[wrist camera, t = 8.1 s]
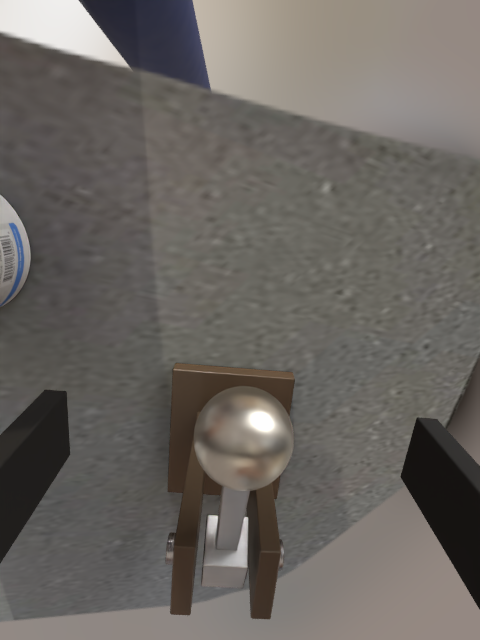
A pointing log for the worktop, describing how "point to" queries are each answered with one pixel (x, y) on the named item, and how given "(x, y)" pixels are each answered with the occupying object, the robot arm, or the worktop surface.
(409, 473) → the robot arm
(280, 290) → the worktop surface
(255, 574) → the bracket
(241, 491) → the tap lever
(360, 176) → the worktop surface
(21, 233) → the supplement tub
